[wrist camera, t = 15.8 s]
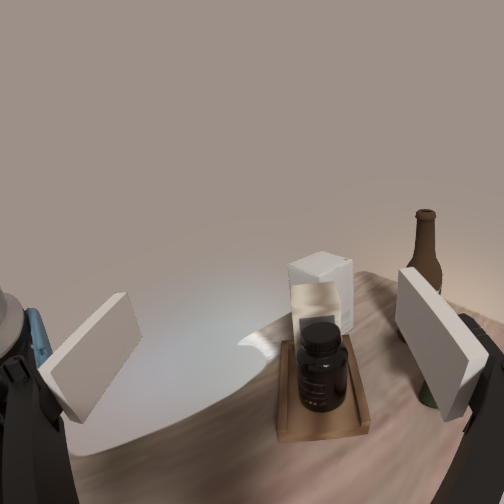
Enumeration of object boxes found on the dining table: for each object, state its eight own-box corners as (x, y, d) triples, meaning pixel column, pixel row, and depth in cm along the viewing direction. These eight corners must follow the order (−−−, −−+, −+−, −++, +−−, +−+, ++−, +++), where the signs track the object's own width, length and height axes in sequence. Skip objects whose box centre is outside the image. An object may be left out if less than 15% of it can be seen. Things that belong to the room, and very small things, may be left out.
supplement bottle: (313, 376, 42) (310, 312, 39) (353, 388, 38) (358, 321, 34) (289, 405, 37) (282, 339, 34) (333, 420, 33) (336, 353, 30)
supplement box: (324, 313, 63) (320, 249, 59) (354, 328, 56) (354, 258, 51) (292, 330, 59) (285, 263, 54) (322, 349, 52) (319, 275, 47)
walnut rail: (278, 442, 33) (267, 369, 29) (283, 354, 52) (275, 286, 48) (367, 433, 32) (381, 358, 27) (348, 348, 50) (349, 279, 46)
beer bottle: (436, 346, 44) (453, 216, 37) (397, 346, 47) (406, 216, 40) (431, 323, 51) (441, 206, 44) (395, 323, 54) (401, 206, 47)
